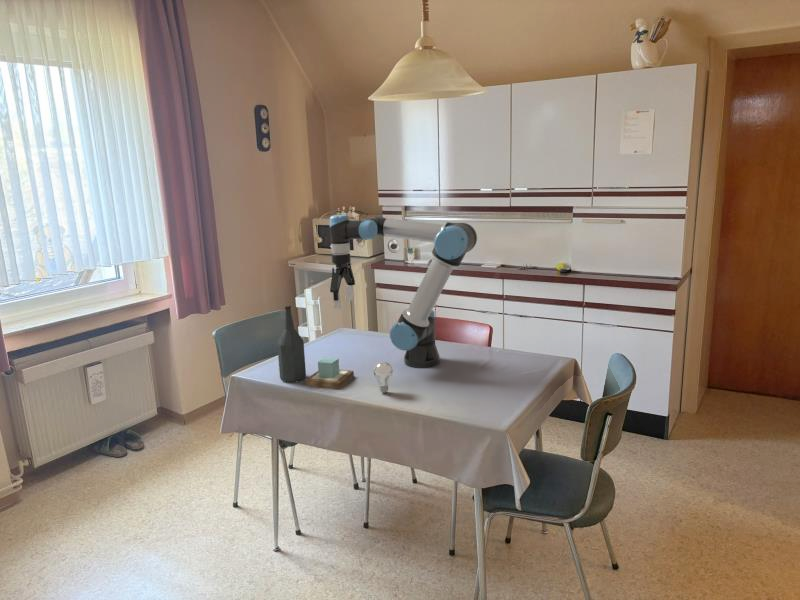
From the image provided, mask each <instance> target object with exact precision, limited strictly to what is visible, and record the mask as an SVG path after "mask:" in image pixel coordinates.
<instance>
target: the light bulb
mask: <svg viewBox="0 0 800 600" xmlns="http://www.w3.org/2000/svg"><path fill="white" fill-rule="evenodd" d="M393 372H394V370H393V367H392V365H391V364H390V363H388V362H386V361H379V362H378V363H376V365H374V368H373V375H374V377H375V379H376V381H377V383H378V385H379V391H380V392H381V393H382V394H386V393H387V392H388V391H389V383H390V379H391V378H392V377H393Z"/></svg>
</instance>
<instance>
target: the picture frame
mask: <svg viewBox="0 0 800 600" xmlns="http://www.w3.org/2000/svg"><path fill="white" fill-rule="evenodd" d="M354 372H355V371H354V370H347V369H339V374H337V375H336V376H335V377H333V378H327V377H319V371H318V370H317V371H316V372H314V373H313V374H312V375H310V376H309V377H307V378H306V379H305V386H306V387H312V388H313V387H315V388H322V389H323V388H324V389H333V390H340V389H341V388H342V387H344V386H345V385H346V384H347V383H349V381H351V380H352V379H353V378H354V377H355V373H354Z"/></svg>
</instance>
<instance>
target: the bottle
mask: <svg viewBox="0 0 800 600" xmlns="http://www.w3.org/2000/svg"><path fill="white" fill-rule="evenodd" d="M304 343H305V342H304V339H303V338H302V337H301V335H300V334H299V332H298V331H297V330H296V329H295V325H294V319H293V314H292V306H291V305H284V329H283V331H282V333H281V335H280V337H279V339H278V341H277V342H276V345H277V358H278V370H279V371H278V372H279V378H280V380H281V381H282V380H283V381H282V382H284V381H285V382H284V383H287V382H289V383H297V382H296V381H298V382H301V380H302V381H303V380H305V378H306V377H307V372H306V357H305V354H306V353H305V344H304Z"/></svg>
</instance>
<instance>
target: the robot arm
mask: <svg viewBox="0 0 800 600" xmlns="http://www.w3.org/2000/svg"><path fill="white" fill-rule="evenodd" d="M329 231H330V232H329V233H330V246H329V247H330V248H331V253H332V254H331V264H334V265H335V267H332V268H331V273H332V274H331V281H330V289H329V292H330V293H332V294H333V295H332V300H333V308H334V309H341V308H342V306H341V292H340V288H341V285H342V284H341V283H342V281H343V280H344V281H345V283H346V285H345V288H346V301H348V302H349V301H351V302H352V301H353V302H354V287H353V286H355V285H356V280H355V276H354V273H353V270H352V264H351V261H352V260H351V254H350V253H351V246H350V240H375V238H376V237H378V236H379V237H386V238H395V239H405V240H411V241H420V242H428V243H433V249H432V251H431V256H432V260H431V262H430V264H429V266H428V268H427V270H426V272H425V274H424V275H423V278H422V280H421V282H420V284H419V286H418V288H417V290H416V292H415V294H414V297H413V298H412V300H411V303H410V304H409V307H408V308H406V309H404V310H402V312H401V314H400V316H399V319H398V320H397V322H396V323H394V324H393V325H392V326H391V328H390V331H389V338H390V341H391V343H392V345H393V346H394V347H395V348H396V349H398V350H401V351H404V352H405V353H404V357H403V361H404V364H405V365H406V366H408V367H412V368H429V367H434V366H437V365H439V364H440V362H441V358H440V357H441V356H440V354H439V351H438V348H437V345H436V317H435V311H434V310H433V309H434V307H435V305H436V303H437V301H438V300H439V297H440V295H441V293H442V292H443V289H444V288H445V285H446V283H447V282H448V280H449V278H450V276H451V274H452V272H453V269H455V268H459V267H460V266H461V264H462V261H463V260H464V257H465V256H466V254H467V253H468V252H470V251H471V250H473V249H474V248H475V246H476V244H477V241H478V236H477V231H476V229H475V228H474V227H473V226H472V225H471V224H469V223H467V222H466V223H465V222H448V221H447V222H446V223H442V224H441V223H434V222H424V221H415V220H408V219H407V220H406V219H396V218H395V219H394V218H387V217H384V216H381V215H380V216H373V217H370V218H365V219H364V218H363V219H359V220H357V219H354V220H353V219H351V220H350V219H349V216H348V215H347V214H334V215H331V216H330V217H329ZM342 279H343V280H342Z"/></svg>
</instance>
